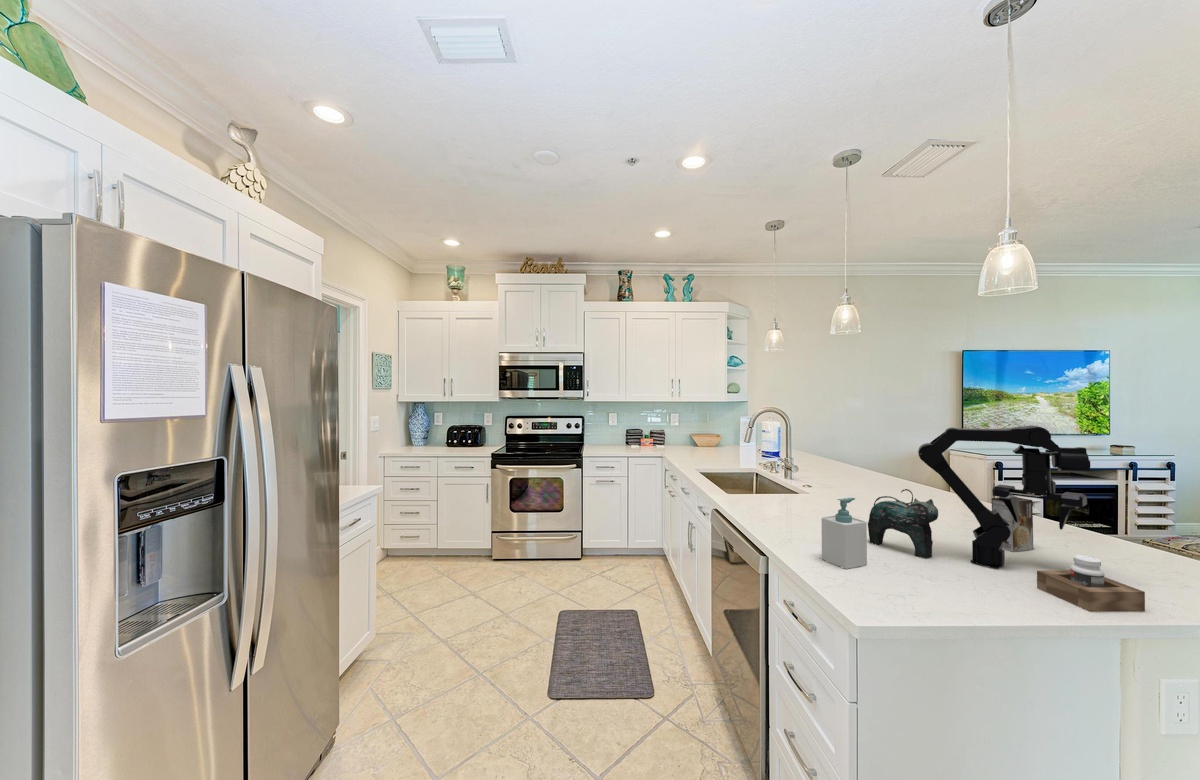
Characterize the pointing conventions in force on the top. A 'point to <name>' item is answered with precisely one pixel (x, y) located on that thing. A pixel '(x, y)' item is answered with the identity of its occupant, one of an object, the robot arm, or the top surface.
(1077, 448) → the robot arm
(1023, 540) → the coffee box
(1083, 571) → the pill bottle
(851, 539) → the soap bottle
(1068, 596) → the walnut socket
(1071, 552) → the top surface
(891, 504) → the ceramic cat
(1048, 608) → the top surface
